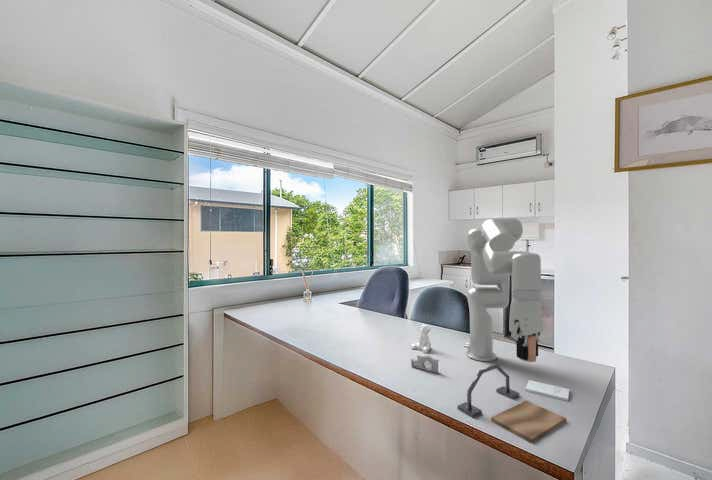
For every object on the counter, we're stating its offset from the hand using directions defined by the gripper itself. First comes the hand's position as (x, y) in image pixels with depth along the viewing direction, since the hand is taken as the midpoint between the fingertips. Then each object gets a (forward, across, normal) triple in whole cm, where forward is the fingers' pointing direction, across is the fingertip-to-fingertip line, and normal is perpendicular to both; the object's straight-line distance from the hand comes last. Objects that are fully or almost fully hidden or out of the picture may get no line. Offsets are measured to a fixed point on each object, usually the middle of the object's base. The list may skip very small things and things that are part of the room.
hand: (527, 356), depth 93 cm
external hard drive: (+20, -23, -6) cm, 31 cm away
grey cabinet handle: (+19, 0, -13) cm, 23 cm away
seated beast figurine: (+19, -17, -62) cm, 67 cm away
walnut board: (+19, 0, 0) cm, 19 cm away
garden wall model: (+19, -1, -44) cm, 48 cm away
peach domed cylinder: (+1, 0, 0) cm, 1 cm away
